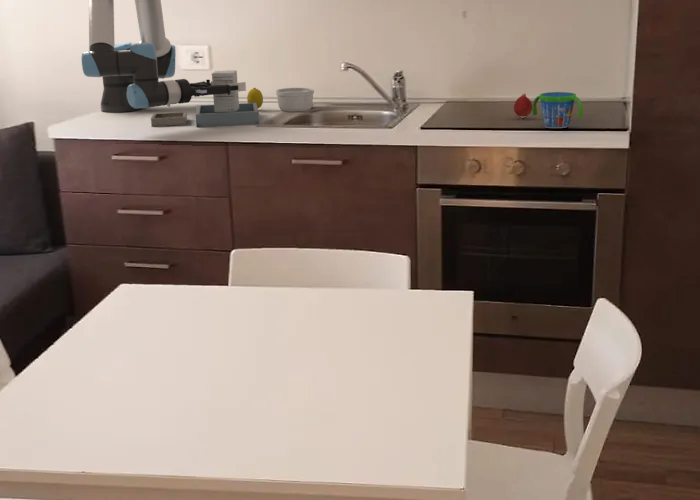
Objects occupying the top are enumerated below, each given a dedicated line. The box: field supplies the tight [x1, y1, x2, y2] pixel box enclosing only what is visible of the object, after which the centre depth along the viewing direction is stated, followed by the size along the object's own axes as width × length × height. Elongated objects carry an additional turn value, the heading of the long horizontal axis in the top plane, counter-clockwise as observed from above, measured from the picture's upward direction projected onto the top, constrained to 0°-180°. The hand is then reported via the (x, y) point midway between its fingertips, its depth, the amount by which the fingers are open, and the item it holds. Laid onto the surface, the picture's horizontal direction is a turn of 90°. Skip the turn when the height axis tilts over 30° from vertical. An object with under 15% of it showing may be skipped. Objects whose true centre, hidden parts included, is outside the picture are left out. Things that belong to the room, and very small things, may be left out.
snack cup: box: [531, 91, 584, 127], centre depth 261 cm, size 16×10×10 cm
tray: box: [195, 102, 260, 128], centre depth 292 cm, size 20×20×4 cm
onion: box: [513, 93, 533, 117], centre depth 279 cm, size 6×6×8 cm
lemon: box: [246, 87, 264, 109], centre depth 310 cm, size 6×6×8 cm
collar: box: [150, 111, 188, 127], centre depth 291 cm, size 11×11×2 cm
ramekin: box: [275, 87, 315, 113], centre depth 310 cm, size 13×13×7 cm
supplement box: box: [211, 69, 240, 112], centre depth 289 cm, size 7×7×13 cm
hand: (236, 85), depth 291 cm, fingers closed on supplement box, 10 cm apart
